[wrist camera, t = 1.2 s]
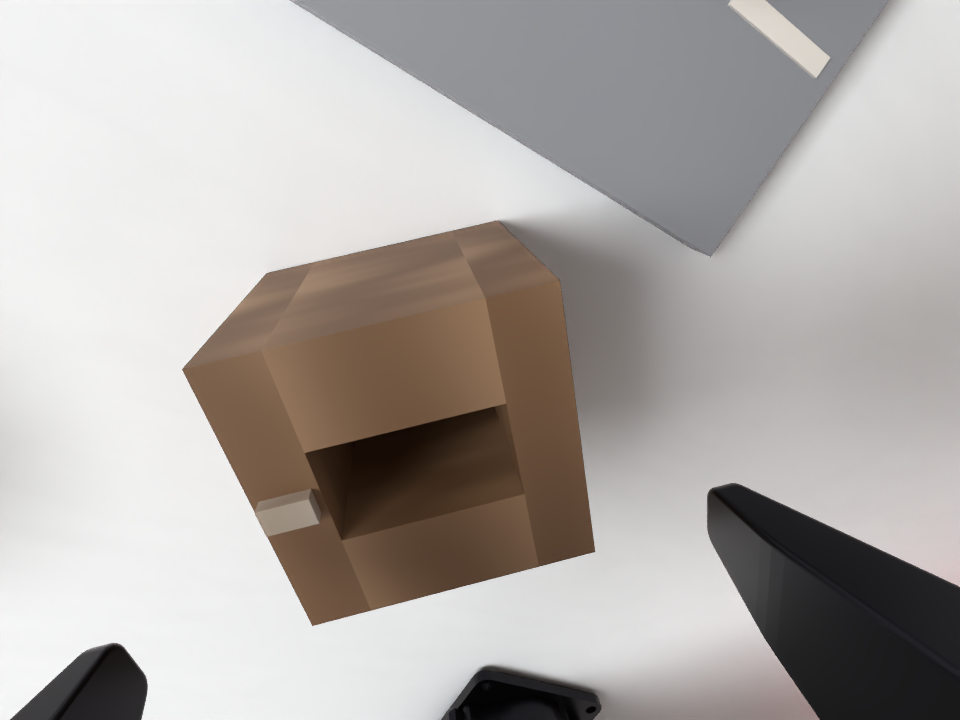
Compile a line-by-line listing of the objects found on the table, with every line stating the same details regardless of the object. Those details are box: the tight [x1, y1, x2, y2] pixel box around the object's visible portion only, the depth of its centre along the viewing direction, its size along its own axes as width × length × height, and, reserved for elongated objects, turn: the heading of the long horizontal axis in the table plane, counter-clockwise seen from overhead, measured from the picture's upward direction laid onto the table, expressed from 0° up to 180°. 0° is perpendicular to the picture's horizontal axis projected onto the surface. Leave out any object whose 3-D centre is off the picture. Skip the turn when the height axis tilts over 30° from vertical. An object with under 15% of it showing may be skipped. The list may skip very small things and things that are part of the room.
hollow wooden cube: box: [182, 221, 595, 626], centre depth 12 cm, size 6×6×6 cm
